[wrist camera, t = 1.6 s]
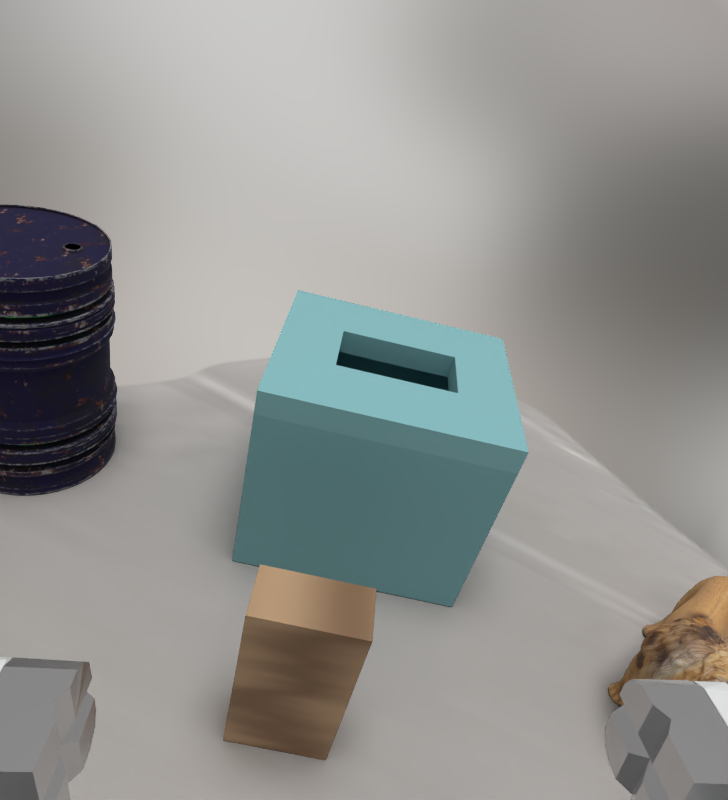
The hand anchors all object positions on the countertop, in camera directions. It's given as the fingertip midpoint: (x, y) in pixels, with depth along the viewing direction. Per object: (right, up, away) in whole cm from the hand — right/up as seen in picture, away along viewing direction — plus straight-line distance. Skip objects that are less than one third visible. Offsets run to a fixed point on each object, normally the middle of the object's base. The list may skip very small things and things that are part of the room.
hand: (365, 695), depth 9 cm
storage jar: (-22, +1, +32) cm, 39 cm away
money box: (-1, -4, +33) cm, 34 cm away
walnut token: (-4, -12, +21) cm, 24 cm away
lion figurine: (+18, -13, +28) cm, 36 cm away
